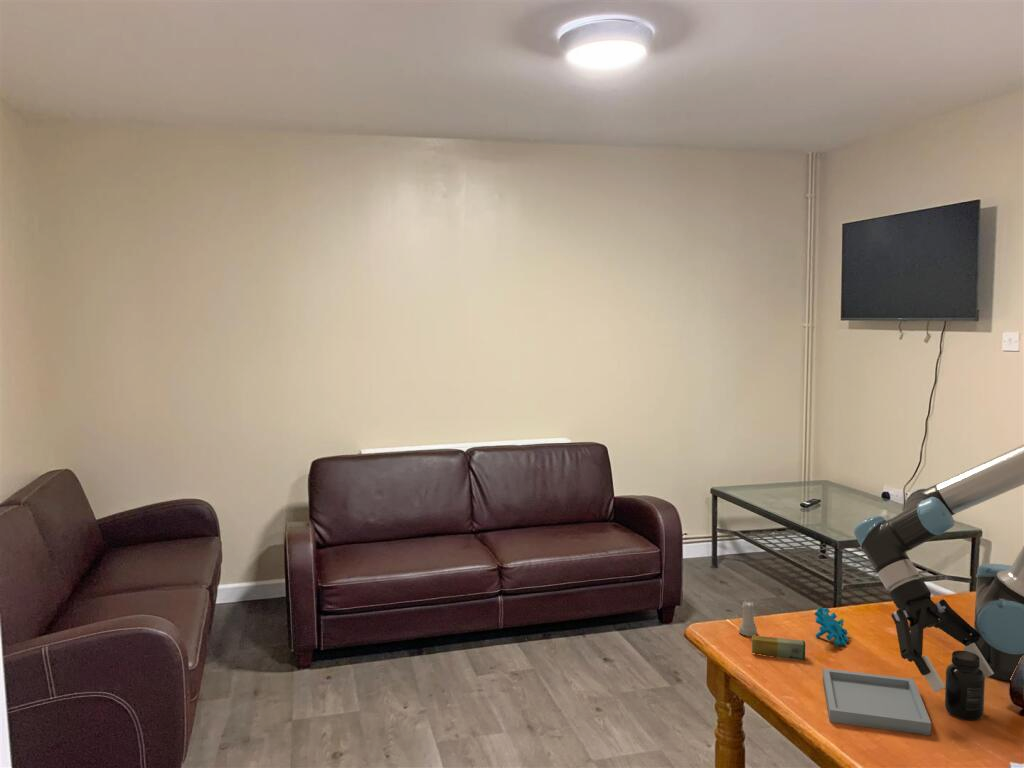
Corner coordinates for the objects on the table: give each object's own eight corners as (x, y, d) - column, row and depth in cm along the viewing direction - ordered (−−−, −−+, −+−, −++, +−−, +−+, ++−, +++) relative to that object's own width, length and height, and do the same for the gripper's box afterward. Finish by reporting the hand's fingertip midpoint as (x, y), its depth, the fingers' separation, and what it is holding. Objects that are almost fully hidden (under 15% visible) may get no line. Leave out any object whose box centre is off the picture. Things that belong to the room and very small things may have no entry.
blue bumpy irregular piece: (837, 646, 185) (811, 608, 190) (818, 658, 188) (794, 620, 193) (859, 639, 192) (834, 602, 197) (841, 650, 195) (817, 614, 200)
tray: (913, 690, 167) (913, 679, 167) (930, 735, 150) (931, 723, 150) (822, 679, 173) (822, 668, 172) (829, 721, 156) (830, 709, 155)
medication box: (805, 656, 184) (805, 640, 184) (805, 661, 181) (806, 644, 181) (751, 650, 188) (751, 634, 187) (751, 655, 185) (751, 638, 185)
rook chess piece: (753, 629, 199) (754, 598, 198) (759, 636, 194) (760, 605, 193) (736, 629, 199) (736, 599, 198) (742, 637, 194) (742, 606, 193)
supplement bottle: (983, 708, 159) (986, 652, 158) (983, 724, 154) (986, 666, 152) (944, 700, 163) (947, 645, 162) (943, 715, 157) (946, 658, 156)
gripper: (935, 584, 177) (994, 677, 165) (850, 602, 167) (906, 702, 155) (957, 569, 171) (1020, 664, 159) (871, 586, 162) (931, 689, 150)
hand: (964, 683), depth 157 cm, fingers open, 13 cm apart
